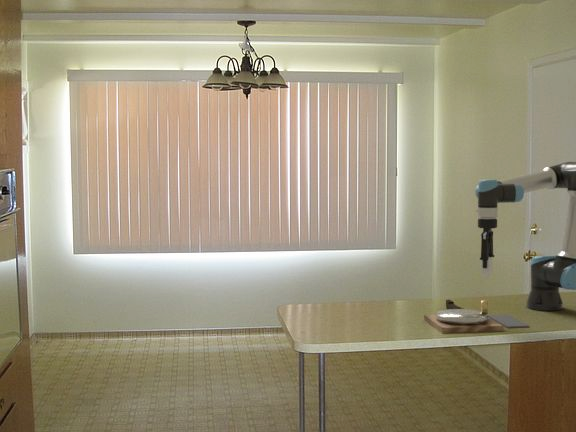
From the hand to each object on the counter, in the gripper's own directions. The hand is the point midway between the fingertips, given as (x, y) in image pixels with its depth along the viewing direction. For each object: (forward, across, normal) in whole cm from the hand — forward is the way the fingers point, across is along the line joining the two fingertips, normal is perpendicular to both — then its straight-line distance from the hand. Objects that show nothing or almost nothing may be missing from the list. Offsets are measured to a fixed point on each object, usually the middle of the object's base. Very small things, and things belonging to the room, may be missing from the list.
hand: (486, 274), depth 304 cm
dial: (+17, +10, -8) cm, 21 cm away
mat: (+19, -3, +8) cm, 21 cm away
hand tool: (+20, -12, -16) cm, 28 cm away
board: (+19, +10, -8) cm, 23 cm away
